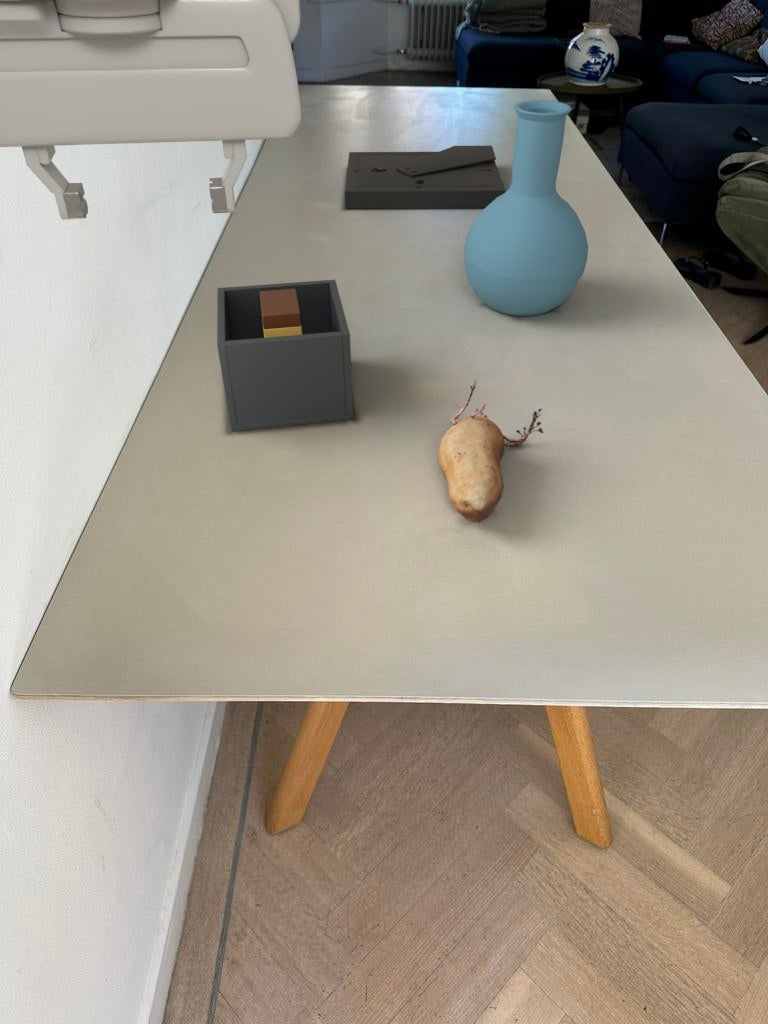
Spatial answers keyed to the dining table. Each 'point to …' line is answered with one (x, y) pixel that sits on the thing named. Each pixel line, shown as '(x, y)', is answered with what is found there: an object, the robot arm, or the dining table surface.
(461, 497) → the vegetable
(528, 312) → the vase
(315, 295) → the gray open box
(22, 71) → the robot arm
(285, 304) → the chocolate box
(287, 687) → the dining table surface
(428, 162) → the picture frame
